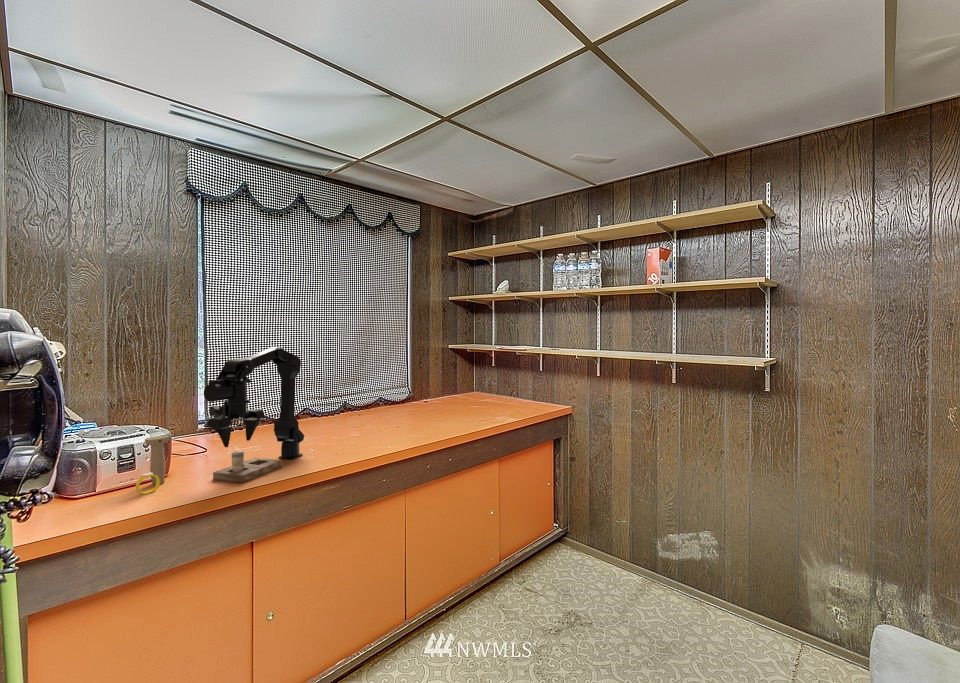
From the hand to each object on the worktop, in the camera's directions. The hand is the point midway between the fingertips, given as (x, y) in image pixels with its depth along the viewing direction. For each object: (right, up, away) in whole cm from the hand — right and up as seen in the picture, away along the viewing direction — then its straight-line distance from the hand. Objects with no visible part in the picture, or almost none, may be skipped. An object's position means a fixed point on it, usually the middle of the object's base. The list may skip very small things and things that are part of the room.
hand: (237, 443), depth 153 cm
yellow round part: (-20, -12, -14) cm, 27 cm away
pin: (0, -11, 0) cm, 11 cm away
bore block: (+1, -11, +5) cm, 12 cm away
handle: (-23, -12, -6) cm, 26 cm away
